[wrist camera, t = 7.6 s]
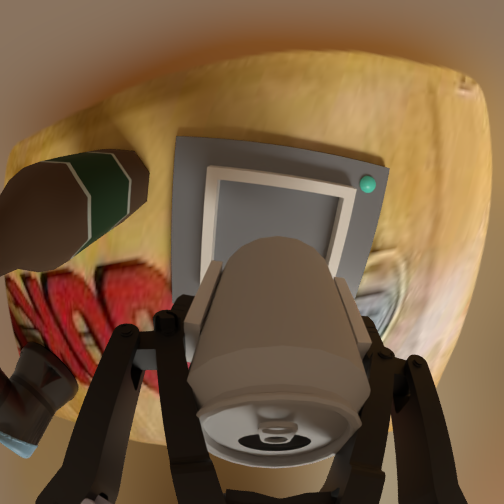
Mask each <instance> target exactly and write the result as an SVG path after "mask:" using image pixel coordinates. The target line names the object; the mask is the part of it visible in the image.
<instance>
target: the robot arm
mask: <svg viewBox="0 0 504 504" xmlns="http://www.w3.org/2000/svg"><path fill="white" fill-rule="evenodd" d="M222 267H223V262H221V261H214V260H211V262H210V265H209V267H208V269H207V271H206V273H205V276H204V278H203V280H202V282H201V284H200V286H199V289H198V291H197V293H196V295H195V296H191V295H185V294H182V295H181V296H179V297H178V298H177V299H176V301H175V303H174V305H173V306H172V309H171V310H161V311H159V312H157V313H156V314H155V315H154V317H153V323H154V331H146V332H139V329H138V328H137V327H136V326H135V325H133V324H121V325H119V326H117V327H116V328H115V330H114V331H113V333H112V336H111V338H110V340H109V342H108V344H107V346H106V349H105V351H104V353H103V355H102V358H101V360H100V362H99V364H98V367H97V369H96V372H95V374H94V376H93V379H92V381H91V384H90V386H89V389H88V391H87V394H86V396H85V399H84V401H83V404H82V407H81V410H80V412H79V415H78V418H77V421H76V424H75V426H74V429H73V432H72V436H71V439H70V442H69V445H68V448H67V451H66V455H65V458H64V462H63V465H62V467H61V468H60V469H59V471H58V472H57V473H56V474H55V476H54V477H53V478H52V479H51V481H50V482H49V483H48V484H47V486H46V487H45V488H44V490H43V491H42V492H41V493H40V495H39V496H38V498H37V500H36V504H115V501H116V499H117V496H118V492H119V488H120V483H121V477H122V471H123V465H124V460H125V455H126V449H127V445H128V440H129V435H130V431H131V426H132V422H133V417H134V413H135V409H136V405H137V401H138V397H139V393H140V389H141V385H142V381H143V377H144V373H145V370H157V375H158V385H159V394H160V403H161V410H162V418H163V425H164V431H165V437H166V443H167V449H168V454H169V459H170V469H171V474H172V479H173V484H174V488H175V492H176V496H177V500H178V504H379V501H380V498H381V494H382V490H383V485H384V482H385V472H383V471H382V470H381V468H382V463H383V457H384V453H385V447H386V441H387V435H388V429H389V422H390V415H391V418H392V426H393V433H394V442H395V452H396V464H397V478H398V479H397V480H398V503H399V504H468V503H467V501H466V499H465V497H464V495H463V493H462V491H461V489H460V487H459V485H458V480H457V473H456V468H455V462H454V457H453V452H452V447H451V442H450V438H449V434H448V430H447V426H446V422H445V418H444V415H443V411H442V407H441V404H440V401H439V397H438V394H437V391H436V388H435V385H434V382H433V379H432V376H431V373H430V370H429V367H428V364H427V362H426V360H425V359H424V358H422V357H421V356H419V355H411V356H409V357H408V359H407V360H403V359H399V358H396V357H395V355H394V353H393V352H392V351H391V350H390V349H389V348H386V347H384V345H383V342H382V340H381V338H380V336H379V333H378V331H377V329H376V327H375V324H374V322H373V321H372V320H371V319H370V318H369V317H368V316H361V315H360V312H359V310H358V308H357V305H356V303H355V301H354V298H353V296H352V294H351V292H350V289H349V287H348V285H347V283H346V280H345V278H341V277H334V278H333V280H334V283H335V285H336V288H337V291H338V293H339V296H340V299H341V301H342V304H343V307H344V310H345V312H346V315H347V318H348V321H349V324H350V327H351V329H352V332H353V335H354V338H355V341H356V344H357V347H358V350H359V353H360V357H361V360H362V363H363V366H364V369H365V372H366V376H367V379H368V382H369V386H370V389H371V391H370V395H369V397H368V398H367V400H366V401H365V402H364V404H363V406H362V409H361V411H360V413H359V418H360V420H361V422H362V426H361V427H360V428H358V430H357V431H356V432H355V433H354V434H353V435H352V436H351V437H350V438H349V440H348V441H347V442H346V443H345V444H344V445H343V446H342V448H341V449H340V450H339V451H338V452H337V453H336V454H335V457H334V460H333V463H332V466H331V468H330V471H329V474H328V476H327V479H326V481H325V484H324V485H323V487H322V488H321V490H320V491H319V492H316V493H304V494H300V495H296V496H292V497H288V498H283V499H279V498H274V497H270V496H266V495H263V494H259V493H255V492H249V491H238V490H230V489H227V490H226V493H222V490H221V487H220V484H219V481H218V478H217V474H216V471H215V468H214V465H213V463H212V461H211V459H210V457H209V453H208V450H207V446H206V443H205V439H204V435H203V431H202V428H201V424H200V420H199V418H198V417H197V416H196V415H197V412H198V411H197V407H196V403H195V399H194V394H193V390H192V387H191V386H190V385H189V383H188V382H187V378H188V375H189V371H188V365H187V362H191V361H192V358H193V355H194V352H195V349H196V346H197V343H198V340H199V337H200V334H201V331H202V328H203V325H204V322H205V319H206V316H207V313H208V311H209V308H210V305H211V302H212V299H213V296H214V293H215V290H216V288H217V285H218V282H219V279H220V276H221V273H222ZM77 392H78V384H77V382H76V380H75V378H74V377H73V375H72V374H71V372H70V371H69V370H68V369H67V367H66V366H65V365H64V364H63V363H62V362H61V361H60V360H59V359H58V358H57V357H56V356H55V355H53V354H52V353H51V352H50V351H48V350H47V349H46V348H44V347H43V346H41V345H39V344H37V343H34V342H28V343H27V344H26V345H25V346H24V348H23V349H22V350H21V353H20V358H19V360H18V362H17V365H16V368H15V371H14V373H13V374H12V376H11V377H10V379H9V378H8V377H7V376H6V375H5V374H4V372H3V371H2V370H1V368H0V442H1V443H2V444H3V445H5V446H6V447H8V448H9V449H10V450H12V451H13V452H15V453H16V454H18V455H19V456H21V457H23V458H29V457H30V456H31V455H32V453H33V452H34V450H35V449H36V448H37V447H38V443H39V441H40V439H41V438H42V436H43V434H44V432H45V430H46V428H47V426H48V425H49V423H50V421H51V419H52V417H53V416H54V414H55V412H56V411H57V410H58V409H60V408H61V407H62V406H64V405H65V404H66V403H67V402H68V401H70V400H72V399H73V398H74V397H75V395H76V393H77Z"/></svg>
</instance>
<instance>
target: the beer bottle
mask: <svg viewBox="0 0 504 504" xmlns="http://www.w3.org/2000/svg"><path fill="white" fill-rule="evenodd" d="M149 174H150V173H149V172H148V170H147V169H146V168H145V166H144V165H143V163H142V162H141V160H140V159H139V158H138V156H137V155H136V153H135V152H134V151H128V150H116V149H102V150H95V151H89V152H84V153H78V154H73V155H68V156H63V157H58V158H54V159H49V160H45V161H41V162H38V163H35V164H32V165H30V166H27V167H25V168H23V169H21V170H20V171H19V172H18V173H17V174H16V175H15V176H14V177H13V178H11V179H10V180H9V182H8V183H7V185H6V186H5V188H4V190H3V191H2V193H1V195H0V276H2V275H5V274H7V273H9V272H12V271H14V270H16V269H22V270H28V271H34V272H43V271H48V270H53V269H56V268H57V267H59V266H61V265H62V264H64V263H66V262H67V261H69V260H70V259H71V258H73V257H74V256H75V255H77V254H78V253H79V252H81V251H82V250H83V249H85V248H86V247H88V246H89V245H90V244H92V243H93V242H94V241H96V240H97V239H99V238H100V237H101V236H103V235H104V234H106V233H107V232H109V231H110V230H112V229H113V228H114V227H116V226H117V225H119V224H120V223H122V222H123V221H124V220H125V219H127V218H128V217H129V216H130V215H131V214H133V213H134V212H135V211H136V210H137V209H138V208H139V207H141V206H142V205H143V204H144V203H145V202H147V194H148V183H149Z"/></svg>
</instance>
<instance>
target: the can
mask: <svg viewBox="0 0 504 504" xmlns="http://www.w3.org/2000/svg"><path fill="white" fill-rule="evenodd" d="M188 371H189V375H188V378H187V382H188V383H189V385H190V386H191V387H192V390H193V394H194V399H195V403H196V407H197V411H198V412H197V415H196V416H197V417H198V418H199V420H200V424H201V428H202V431H203V435H204V439H205V443H206V446H207V450H208V451H209V452H210V453H212V454H213V455H215V456H217V457H220V458H222V459H225V460H227V461H230V462H233V463H238V464H242V465H246V466H252V467H264V468H284V467H296V466H301V465H307V464H311V463H315V462H318V461H321V460H324V459H327V458H329V457H332V456H334V455H335V454H336V453H337V452H338V451H339V450H340V449H341V448H342V446H343V445H344V444H345V443H346V442H347V441H348V440H349V438H350V437H351V436H352V435H353V434H354V433H355V432H356V431H357V430H358V428H360V427H361V426H362V422H361V420H360V418H359V413H360V411H361V409H362V406H363V404H364V402H365V401H366V400H367V398H368V397H369V395H370V391H371V389H370V386H369V382H368V379H367V376H366V372H365V369H364V366H363V363H362V360H361V357H360V353H359V350H358V347H357V344H356V341H355V338H354V335H353V332H352V329H351V327H350V324H349V321H348V318H347V315H346V312H345V310H344V307H343V304H342V301H341V299H340V296H339V293H338V291H337V288H336V285H335V283H334V280H333V277H332V275H331V273H330V270H329V268H328V265H327V263H326V261H325V259H324V258H323V257H322V256H321V255H320V254H319V253H318V252H317V251H316V250H315V249H314V248H313V247H311V246H309V245H308V244H306V243H304V242H302V241H300V240H298V239H294V238H288V237H282V236H273V237H266V238H259V239H256V240H254V241H252V242H250V243H248V244H246V245H244V246H242V247H241V248H239V249H238V250H237V251H236V252H235V253H234V254H233V255H232V256H231V257H230V258H229V259H228V261H227V263H226V265H225V267H224V269H223V271H222V273H221V276H220V279H219V282H218V285H217V288H216V290H215V293H214V296H213V299H212V302H211V305H210V308H209V311H208V313H207V316H206V319H205V322H204V325H203V328H202V331H201V334H200V337H199V340H198V343H197V346H196V349H195V352H194V355H193V358H192V361H191V364H190V367H189V370H188Z"/></svg>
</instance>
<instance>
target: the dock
mask: <svg viewBox="0 0 504 504" xmlns="http://www.w3.org/2000/svg"><path fill="white" fill-rule="evenodd" d="M389 169H390V168H387V167H383V166H379V165H375V164H371V163H367V162H363V161H359V160H355V159H350V158H346V157H341V156H337V155H332V154H327V153H322V152H317V151H311V150H306V149H300V148H294V147H287V146H281V145H274V144H266V143H258V142H250V141H241V140H231V139H219V138H205V137H187V136H176V147H175V160H174V175H173V195H172V231H171V265H172V301H173V303H175V301H176V299H177V298H178V297H179V296H181V295H182V294H185V295H191V296H195V295H196V293H197V291H198V289H199V286H200V284H201V282H202V280H203V278H204V276H205V273H206V271H207V269H208V267H209V265H210V262H211V260H214V261H221V262H223V267H222V271H223V269H224V267H225V265H226V263H227V261H228V259H229V258H230V257H231V256H232V255H233V254H234V253H235V252H236V251H237V250H238V249H239V248H241V247H242V246H244V245H246V244H248V243H250V242H252V241H254V240H256V239H259V238H266V237H273V236H282V237H288V238H294V239H298V240H300V241H302V242H304V243H306V244H308V245H309V246H311V247H313V248H314V249H315V250H316V251H317V252H318V253H319V254H320V255H321V256H322V257H323V258H324V259H325V261H326V263H327V265H328V268H329V270H330V273H331V275H332V277H333V278H334V277H341V278H345V280H346V283H347V285H348V287H349V289H350V292H351V294H352V296H353V298H354V299H355V296H356V294H357V291H358V288H359V285H360V282H361V279H362V275H363V272H364V269H365V266H366V263H367V259H368V256H369V253H370V249H371V246H372V242H373V238H374V235H375V231H376V227H377V223H378V219H379V215H380V211H381V207H382V203H383V198H384V194H385V189H386V185H387V180H388V175H389Z"/></svg>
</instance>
